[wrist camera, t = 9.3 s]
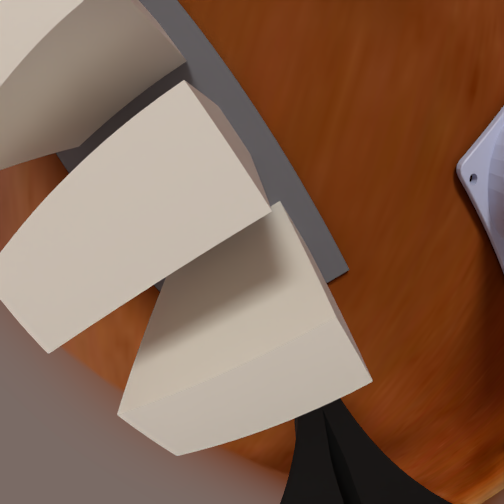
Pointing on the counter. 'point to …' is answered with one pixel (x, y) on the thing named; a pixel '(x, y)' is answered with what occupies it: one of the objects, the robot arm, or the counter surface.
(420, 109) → the counter surface
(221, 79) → the domino mat
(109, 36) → the domino
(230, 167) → the domino
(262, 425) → the domino
